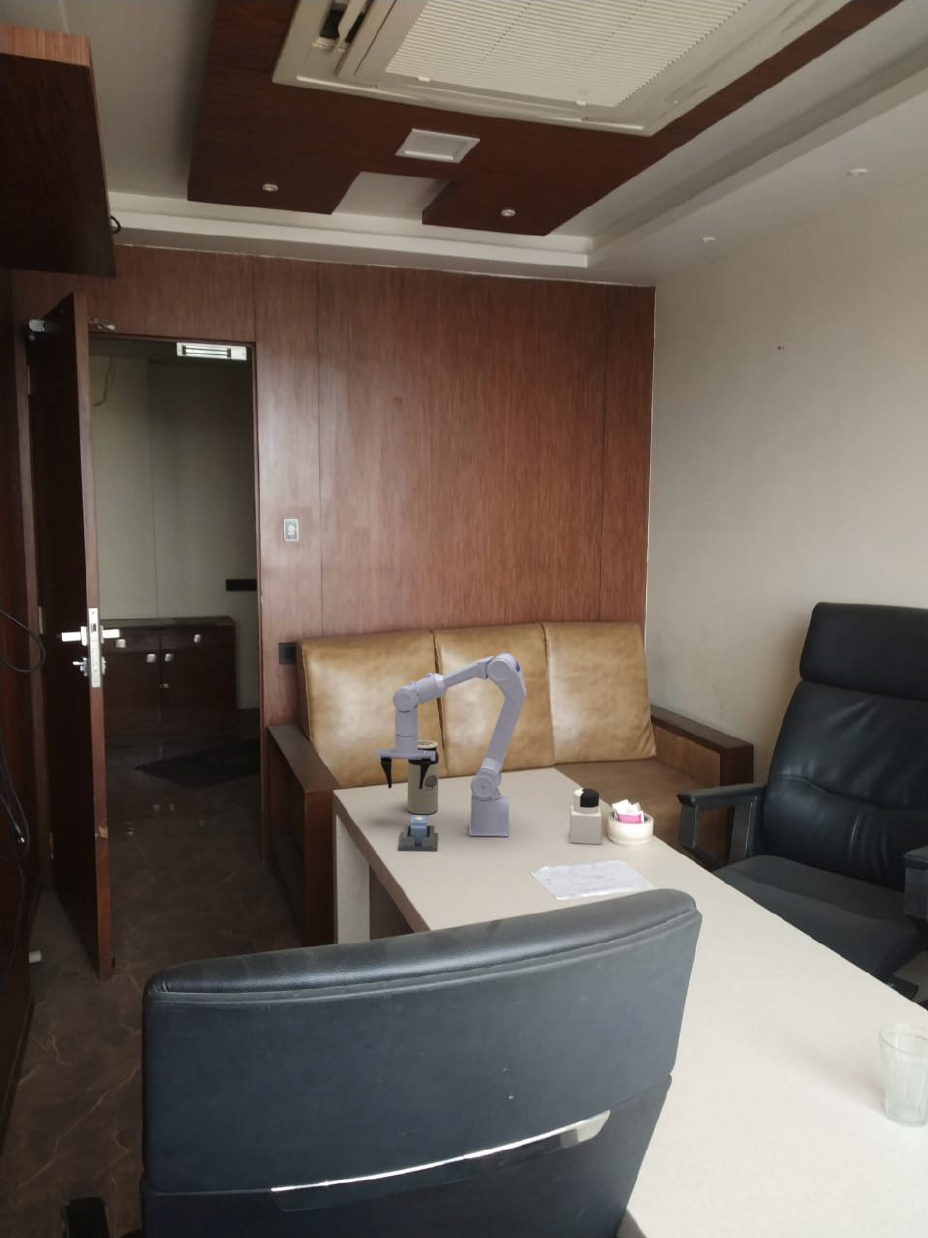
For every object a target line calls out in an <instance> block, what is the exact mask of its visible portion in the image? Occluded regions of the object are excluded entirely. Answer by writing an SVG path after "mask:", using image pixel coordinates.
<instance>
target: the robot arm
mask: <svg viewBox="0 0 928 1238" xmlns="http://www.w3.org/2000/svg"><path fill="white" fill-rule="evenodd" d="M522 672H523V671H522V666H521V665H520V662H519V661H518V660H517V658H516V657H515V656H514V655H513V654H511V653H510V652H500V653H499V654H497V655H495V656H494V655H491V656H487V657H483V658H481V659H478V660H475V661H473V662H471V663H468V664H467V665H465V666H462V667H460V668H458V669H455V670H454V671H451V672H448V673H447V674H445V675H442V674H439V673H436V672H435V673H432V672H430V673H427V674H426V675H425V677H424V678H421V679H419V680H417V681H414V680H411V681H410V682H408V684H407V685H403V686H402V687H400V688H399V689H397V690H396V691H395V692H394V694H393V696H392V703H393V706H394V707H395V711H394V712H395V713H394V714H395V716H394V748H393V749H376V752H375V753H376V756H375V757H376V760H380V766H381V768H382V770H383V773H384V774H385V777H386V782H387V788H388V789H392V787H393V778H392V764H393V760H408V759H416V760H421V762H420V784H419V789H422V786H423V781H424V778H425V775H426V772H427V770H428V768H429V766H430V763H431V761H435V751H426V750H418V740H419V714H418V711H419V706H418V705H423V704H426V703H428V702H431V701H434V700H436V699H439V698H441V697H443V696H445V695H446V694H447V691H448V689H449V688H451V687H454V686H456V685H459V684H461V683H464V682H467V681H470V680H472V679H475V678H478V679H480V680H483V681H484V680H485V681H486V680H487V679H489V680H490V681H491V682H493V684H494V685H496V686H497V687H498V689H500V691H501V693H502V694H503V696H504V701H503V703H502V706H501V709H500V713H499V715H498V718H497V720H496V723H495V727H494V729H493V732H492V736H491V739H490V742H489V744H488V748H487V750H486V753H485V757H484V758H483V761H482V762H481V766H480V767H479V769H478V770H477V773H476V774H475V776H474V777H473V778H472V780H471V782H470V789H471V795H470V797H471V798H470V801H471V802H470V807H471V808H470V822H469V823H468V835H469V836H471V837H472V836H474V837H509V827H510V818H509V817H510V800H509V799H510V798H509V796H507V795H502V793H501V791H500V789H499V786H500V784H501V783H502V779H503V778H502V768H503V765H504V761H505V759H506V755H507V752H508V748H509V746H510V743H511V740H512V737H513V734H514V732H515V730H516V729H515V728H516V726H517V724H518V720H519V718H520V715H521V713H522V709H523V707H524V703H525V701H526V698H527V689H526V685H525V680H524V676H523V673H522Z"/></svg>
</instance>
